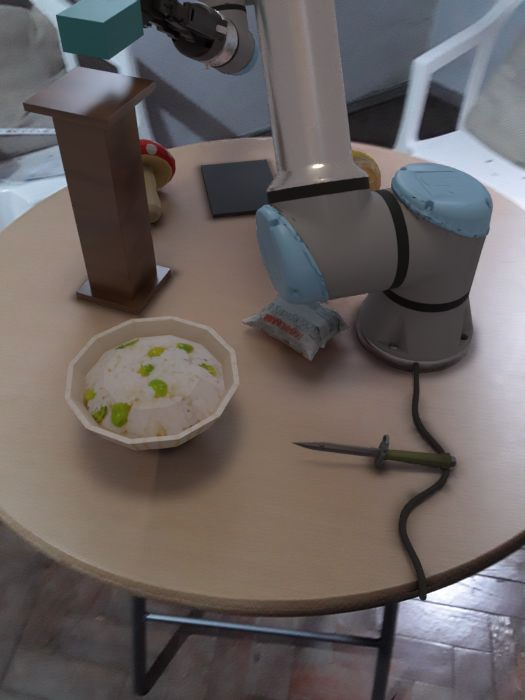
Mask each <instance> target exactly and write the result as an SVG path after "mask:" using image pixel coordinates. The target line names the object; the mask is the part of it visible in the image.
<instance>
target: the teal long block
mask: <svg viewBox="0 0 525 700" xmlns="http://www.w3.org/2000/svg"><path fill="white" fill-rule="evenodd" d="M154 18H155V17H153V16H151V15H149V14H147V13H145V12H143V11H141V5H140V0H79V1H77V2H76V3H74V4H72V5H71V6H68V7H67V8H65V9H64V10H61V11H60V12H58V13H57V14H55V19H56V23H57V29H58V34H59V39H60V44H61V49H62V52H63V53H67V54H73V55H77V56H84V57H90V58H95V59H101V60H106V61H110V60H112V59H113V58H114V57H116V56H117V55H119V54H120V53H121V52H122V51H124V50H125V49H127V48H128V47H129V46H131V45H132V44H133V43H135V42H137V40H139V39H140V38H142V37H143V36H145V34H144V33H145V32H144V28H143V26H144V25H145V24H147V23H148V22H150V21H151V20H152V19H154Z"/></svg>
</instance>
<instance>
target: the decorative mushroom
mask: <svg viewBox="0 0 525 700" xmlns="http://www.w3.org/2000/svg"><path fill="white" fill-rule="evenodd" d="M139 140H140V147H141V155H142V163H143V170H144V178H145V185H146V193H147V200H148V208H149V216H150V223H151V224H154V223H156V222H157V221H158V220H159V219H160V218H161V215H162V213H163V212H162V203H161V200H160V198H159V194H158V191H157V190H160V189H163V188H164V187H165V186H166V185H167V184H169V183H170V182H171V181H172V179H173V177H174V176H175V174H176V170H177V166H176V159H175V158H174V156H173V155H172V153H171V152H170V151H169V150H168V148H167V147H165V146H163V145H162V144H161V143H159V142H157V141H155V140H151V139H145V138H144V139H143V138H141V139H140V138H139Z"/></svg>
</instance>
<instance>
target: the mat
mask: <svg viewBox="0 0 525 700" xmlns="http://www.w3.org/2000/svg"><path fill="white" fill-rule="evenodd" d="M200 169H201V173H202V177H203V181H204V186H205V190H206V193H207V198H208V201H209V202H208V203H209V206H210V209H211V210H210V211H211V214H212V217H213V218H222V217H232V216H240V215H241V216H242V215H252V214H256V213H257V210H258V209H260V208H261V207H262V206H263V205H268V199H267V191H266V189H267V188H268V187H269V185H270V184H271V182H272V181H273V179H274V178H275V177H274V176H273V173H272V170H271V168H270V165H269V162H268V160H267V159H266V158H265V159H256V160H255V159H254V160H244V161H235V162H234V161H233V162H223V163H212V164H202V165H200Z"/></svg>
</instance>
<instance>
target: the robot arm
mask: <svg viewBox="0 0 525 700" xmlns="http://www.w3.org/2000/svg"><path fill="white" fill-rule="evenodd" d="M140 5H141V11H143V12H145V13H147V14H149V15H151V16H153V17H155V18H154V19H152V20H151V21H150V22H148V23H147V24H145V25H144V26H143V29H149V28H150V29H151V28H153V26H155V28H156V31H158V32H159V33H160V32H161V33H162V34H164V35H166V36H167V37H168V38H169V39H171V41H172V44H173V46H174V48H175V49H176V50H177V51H178V53H180V54H181V55H182V56H183V57H186V58H189V59H191V60H193V61H196V62H199V63H201V64H203V68H204V70H210V69H211V68H213V69H214V70H216V71H218V72H219V73H221V74H224V75H228V76H229V75H230V76H233V77H238V76H241V77H242V76H243V75H246V74H248V73H249V72H251V70H253V69H254V67H255V66H256V64H257V62H258V59H259V56H260V58H261V65H262V72H263V81H264V87H265V95H266V102H267V108H268V116H269V123H270V130H271V137H272V146H273V152H274V160H275V166H276V174H275V176H274V177H273V178H274V179H273V181H272V182H271V184H270V185H269V187H268V188H267V189H266V191H267V199H268V205H263V206H262V207H261V208H260V209H258V210H257V213H255V218H254V220H255V221H254V222H255V226H256V229H255V232H256V239H257V243H258V247H259V251H260V255H261V258H262V262H263V265H264V267H265V270H266V273H267V275H268V277H269V280H270V282H271V284H272V286H273V288H274V290H275V291H276V293H277V295H280V296H281V297H282V298H283V299H284V300H285V301H287V302H288V303H291V304H295V305H300V304H308V303H316V302H317V303H319V304H327V303H328V302H329V301H332V300H337V299H338V300H339V299H343V298H344V299H345V298H348V297H349V298H350V297H355V296H361V295H366V297H365V298H364V300H363V301H362V302H361V304H360V306H359V308H358V312H357V319H356V334H357V336H358V339H359V341H360V342H361V345H362V346H363V347H364V348H365V350H367V351H368V353H370V354H371V355H372V356H373V357H375V358H376V359H378V360H379V361H381V362H383V363H385V364H387V365H389V366H391V367H395V368H397V369H401V370H405V371H411V372H412V400H411V413H412V414H411V415H412V419H413V422H414V424H415V427H416V428H417V430H418V432H419V433H420V434H421V436H422V437H423V438H424V440H426V441H427V442H428V444H430V446H431V447H432V448H433V449H434V450H435V451H436V452H435V453H438V454H441V453H446V451H445V450H444V448H443V446H441V444H440V443H439V442H438V441H437V440H436V439H435V437H433V436H432V434H430V433H429V431H428V429H426V427H425V426H424V424H423V422H422V420H421V417H420V413H419V402H420V372H433V371H440V370H442V369H446V368H449V367H451V366H454V364H456V363H458V362H459V361H460V360H462V359H463V358H464V357H465V355H466V354H467V352H468V350H469V348H470V345H471V343H472V338H473V334H474V325H473V316H472V308H471V301H470V293H471V289H472V286H473V283H474V279H475V276H476V272H477V269H478V265H479V263H480V258H481V255H482V252H483V248H484V245H485V242H486V238H487V236H489V233H490V230H491V227H490V226H491V220H492V216H493V215H492V214H493V211H494V210H493V209H494V202H493V198H492V196H491V193H490V192H489V190H488V189H487V187H486V186H485V185H484V184H483V183H482V182H481V181H479V180H478V179H477V178H476V177H474V176H473V175H471V174H469V173H467V172H465V171H464V170H463V171H462V170H460V169H459V168H458V169H457V168H456V167H452V166H449V165H446V164H441V163H435V162H413V163H409V164H406V165H403V166H401V167H400V169H398V170H397V171H396V172H395V173H394V176H393V177H391V180H390V181H391V183H390V187H388V188H382V189H380V190H375V191H370V185H369V177H368V174H367V173H366V172H365V171H364V170H362V169H361V168H360V167H358V166H357V165H356V164H355V162H354V161H353V158H352V150H353V149H352V140H351V134H350V133H351V132H350V124H349V123H350V122H349V115H348V106H347V99H346V92H345V90H346V89H345V82H344V81H345V80H344V75H343V65H342V56H341V48H340V39H339V30H338V23H337V14H336V13H337V12H336V5H335V0H197V1H195V0H194V1H183V2H182V3H181V2H180V1H179V0H140ZM249 6H253V9H254V15H255V23H256V30H257V37H258V38H257V39H258V40H257V39H256V37H255V36H254V34H253V33H252V32H251V31H250V28H249V22H248V16H247V15H248V12H247V8H246V7H249ZM259 53H260V54H259ZM441 471H442V472H441V475H440V476H439V477H438V479H437V481H435V482H434V483H433V484H432V485H430V486H429V487H427V488H426V489H424V490H422V491H421V492H419V493H417V494H416V495H414V496H412V498H411V499H409V500H408V501H407V502H406V503H405V504H404V506H403V508H402V509H401V511H400V513H399V518H398V532H399V536H400V540H401V542H402V545H403V547H404V548H405V549H404V550H405V551H406V553H407V556H408V557H409V559H410V561H411V564H412V566H413V568H414V571H415V574H416V579H417V586H418V598H419V600H420V601H422V602H425V601H426V600H427V598H428V591H427V590H428V589H427V579H426V574H425V571H424V569H423V565H422V563H421V560H420V558H419V556H418V553H417V552H416V550H415V548H414V546H413V544H412V542H411V540H410V538H409V535H408V532H407V520H408V517H409V514H410V512H411V511H412V509H413V508H414V507H415V506H416V505H417V504H419V503H420V502H421V501H424V500H425V499H426V498H428V497H430V496H431V495H433V494H434V493H436V492H438V491H439V490H440V489H441V488H442V487H443V486H444V485H445V484H446V482H447V481H448V479H449V477H450V471H451V469H450V470H447V469H443V470H441ZM396 696H397V692H396V693H395V694H394V695H393V696H392V698H391V699H390V700H395V699H396Z"/></svg>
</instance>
